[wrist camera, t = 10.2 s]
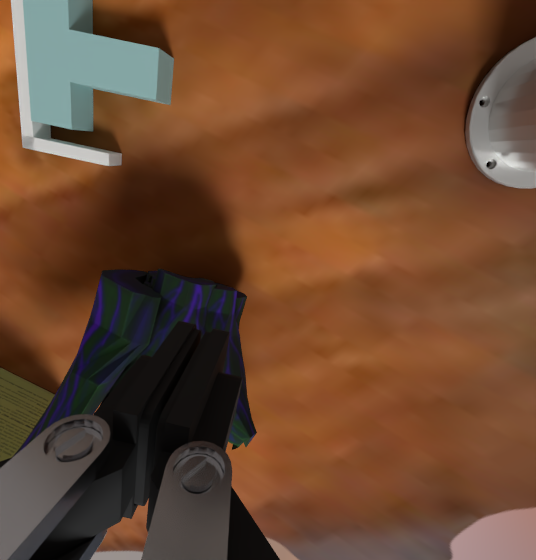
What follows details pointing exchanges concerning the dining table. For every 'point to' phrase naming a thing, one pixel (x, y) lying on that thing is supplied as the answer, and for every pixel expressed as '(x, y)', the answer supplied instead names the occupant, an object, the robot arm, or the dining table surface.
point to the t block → (84, 64)
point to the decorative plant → (146, 339)
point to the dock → (39, 133)
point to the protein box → (19, 411)
